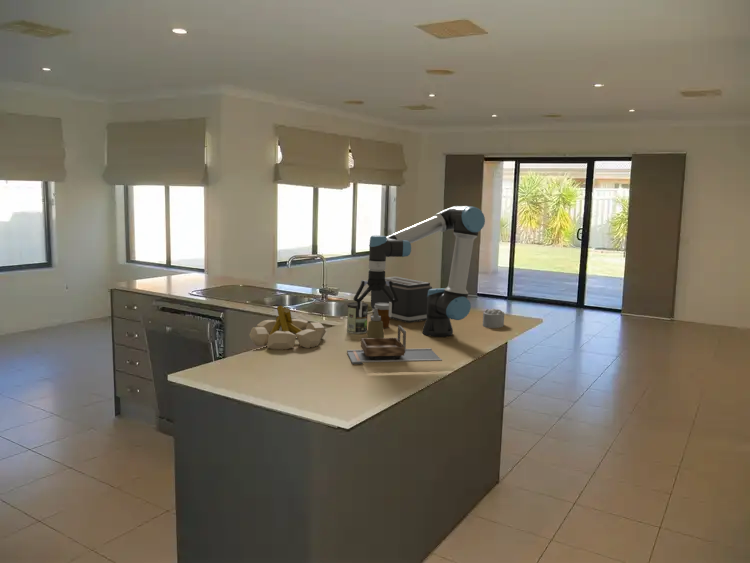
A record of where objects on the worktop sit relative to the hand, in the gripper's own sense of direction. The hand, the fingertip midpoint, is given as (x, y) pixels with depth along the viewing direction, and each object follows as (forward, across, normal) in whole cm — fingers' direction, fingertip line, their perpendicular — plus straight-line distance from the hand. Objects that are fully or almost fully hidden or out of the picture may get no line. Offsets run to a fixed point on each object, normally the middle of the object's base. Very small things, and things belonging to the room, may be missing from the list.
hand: (375, 316), depth 283 cm
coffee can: (+14, -4, +31) cm, 34 cm away
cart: (+13, 0, -18) cm, 22 cm away
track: (+14, +6, -18) cm, 24 cm away
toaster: (+14, +26, +68) cm, 74 cm away
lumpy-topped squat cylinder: (+13, +72, +40) cm, 83 cm away
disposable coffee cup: (+14, +12, +41) cm, 45 cm away
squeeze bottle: (+14, 0, 0) cm, 15 cm away
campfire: (+15, -38, +14) cm, 44 cm away
